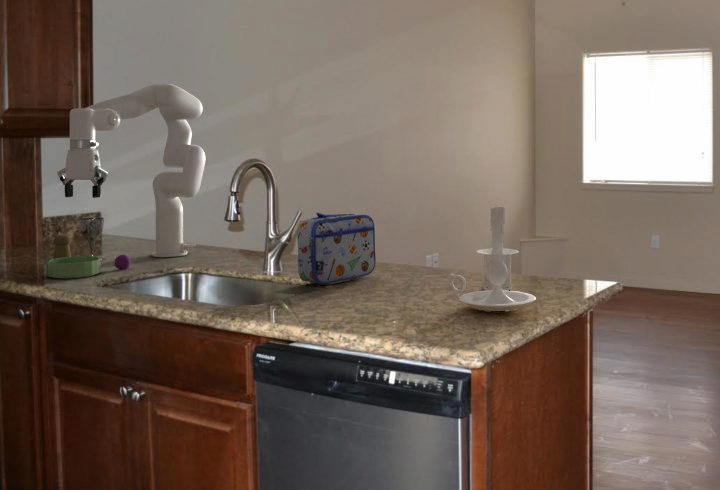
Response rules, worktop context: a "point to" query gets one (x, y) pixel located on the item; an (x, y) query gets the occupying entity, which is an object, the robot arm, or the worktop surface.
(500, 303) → the candlestick
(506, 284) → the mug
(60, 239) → the cork
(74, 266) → the bowl
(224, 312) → the worktop surface
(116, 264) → the ball
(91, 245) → the wine glass
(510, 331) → the worktop surface
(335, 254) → the lunch box
